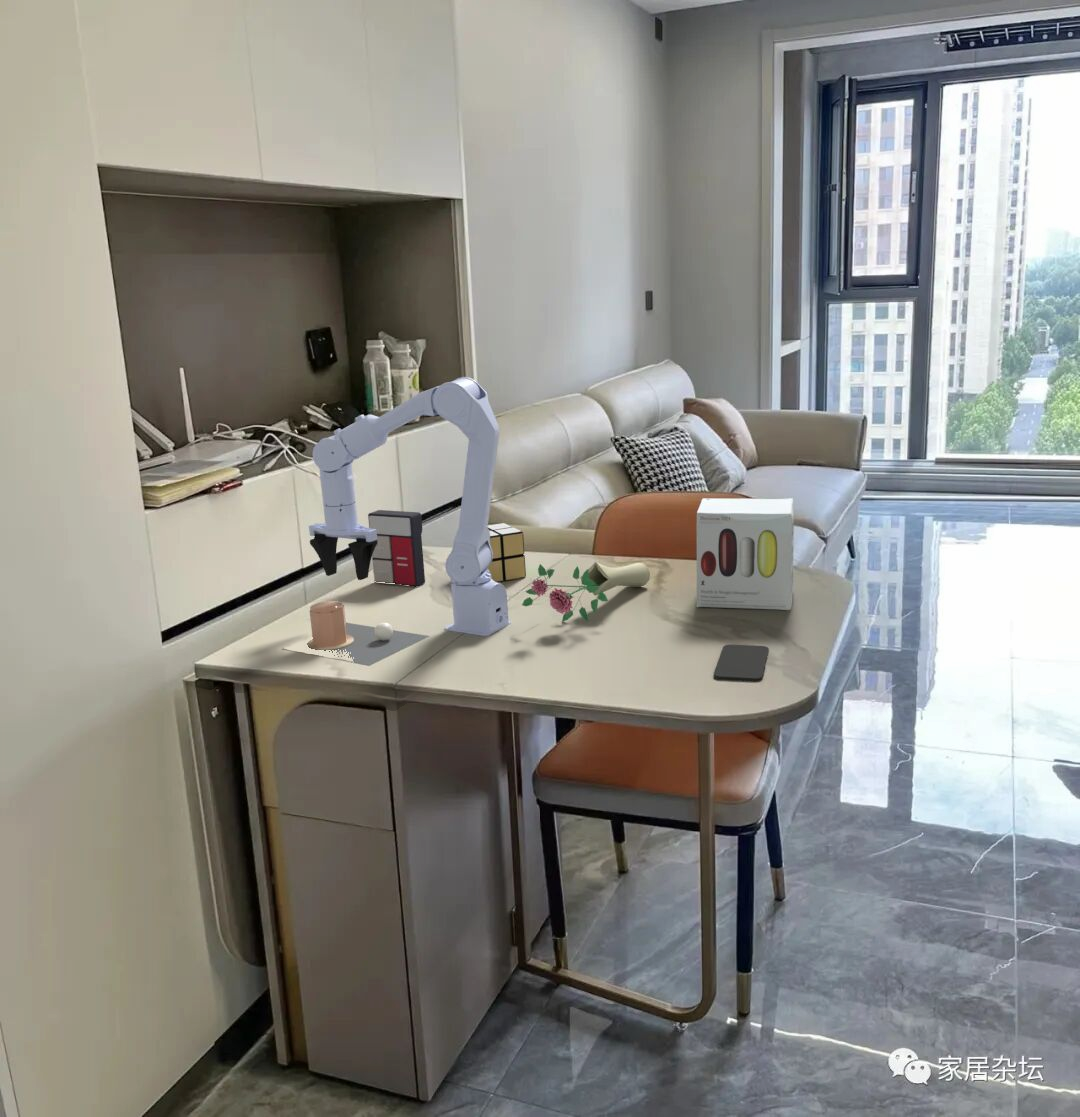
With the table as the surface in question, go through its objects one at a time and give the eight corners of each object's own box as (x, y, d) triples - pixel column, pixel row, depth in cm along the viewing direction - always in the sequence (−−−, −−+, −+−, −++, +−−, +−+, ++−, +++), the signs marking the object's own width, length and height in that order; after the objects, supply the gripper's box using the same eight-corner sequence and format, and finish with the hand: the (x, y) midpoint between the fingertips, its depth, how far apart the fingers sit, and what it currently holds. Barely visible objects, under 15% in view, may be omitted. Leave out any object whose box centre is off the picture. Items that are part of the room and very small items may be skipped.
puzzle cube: (464, 575, 228) (461, 529, 226) (507, 567, 232) (504, 522, 230) (482, 585, 219) (478, 538, 217) (526, 578, 223) (523, 531, 221)
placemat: (429, 638, 188) (429, 635, 188) (369, 667, 175) (369, 665, 175) (344, 624, 199) (343, 622, 199) (281, 651, 186) (281, 649, 186)
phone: (769, 646, 174) (762, 678, 160) (769, 650, 174) (762, 684, 160) (723, 643, 176) (712, 676, 162) (723, 648, 176) (712, 681, 162)
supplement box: (695, 609, 196) (693, 512, 192) (702, 588, 209) (701, 497, 204) (792, 611, 192) (793, 512, 188) (793, 589, 205) (794, 496, 200)
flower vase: (650, 627, 211) (565, 643, 181) (598, 602, 217) (508, 614, 186) (670, 571, 209) (588, 579, 178) (618, 548, 214) (529, 551, 184)
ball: (397, 638, 188) (395, 621, 187) (385, 644, 185) (384, 626, 184) (383, 636, 190) (381, 619, 189) (371, 641, 187) (369, 624, 186)
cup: (353, 639, 188) (349, 604, 186) (328, 648, 184) (324, 612, 182) (332, 634, 191) (328, 599, 190) (307, 643, 187) (303, 607, 186)
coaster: (363, 639, 189) (363, 637, 189) (332, 653, 182) (331, 651, 182) (329, 633, 193) (329, 631, 193) (297, 647, 186) (297, 645, 186)
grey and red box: (372, 583, 225) (365, 514, 221) (384, 578, 229) (377, 509, 225) (415, 588, 220) (409, 516, 216) (427, 582, 224) (421, 512, 220)
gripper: (385, 501, 192) (392, 574, 195) (324, 496, 199) (332, 567, 203) (358, 509, 186) (366, 584, 189) (297, 504, 193) (306, 576, 197)
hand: (347, 576), depth 196 cm, fingers open, 7 cm apart
